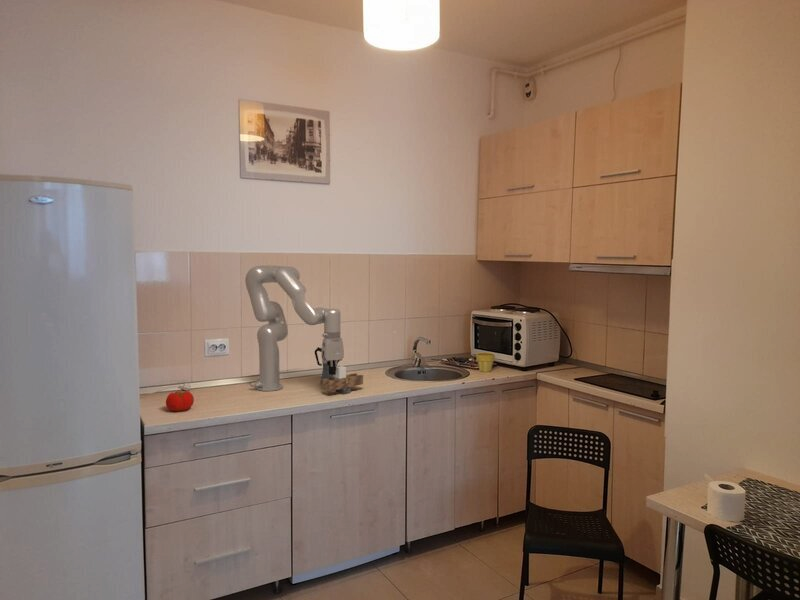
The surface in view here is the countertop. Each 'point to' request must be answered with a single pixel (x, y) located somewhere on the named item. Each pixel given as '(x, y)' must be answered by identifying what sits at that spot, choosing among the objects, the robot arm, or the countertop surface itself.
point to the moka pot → (325, 367)
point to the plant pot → (485, 361)
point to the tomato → (179, 401)
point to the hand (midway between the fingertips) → (332, 374)
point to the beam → (342, 383)
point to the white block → (340, 372)
